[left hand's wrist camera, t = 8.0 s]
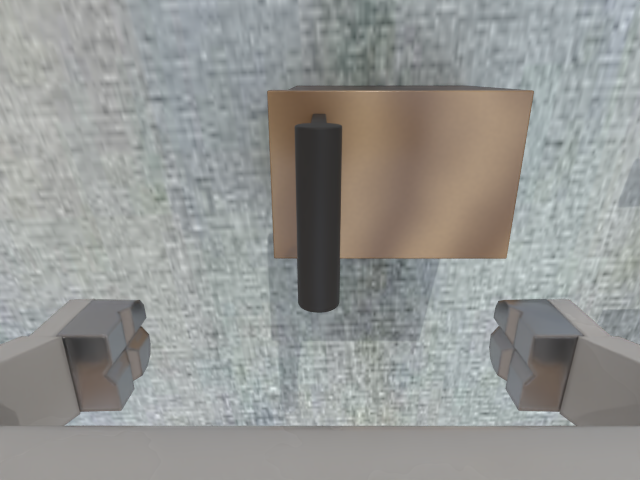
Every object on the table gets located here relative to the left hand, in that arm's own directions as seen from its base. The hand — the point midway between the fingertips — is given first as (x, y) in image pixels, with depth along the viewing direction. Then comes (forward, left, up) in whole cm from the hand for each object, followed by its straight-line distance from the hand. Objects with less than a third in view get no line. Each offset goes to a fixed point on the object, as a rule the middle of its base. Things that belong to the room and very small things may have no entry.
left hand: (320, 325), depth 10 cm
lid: (+4, +1, -16) cm, 16 cm away
